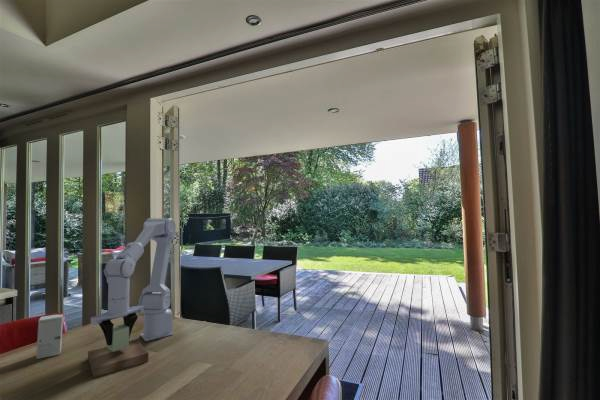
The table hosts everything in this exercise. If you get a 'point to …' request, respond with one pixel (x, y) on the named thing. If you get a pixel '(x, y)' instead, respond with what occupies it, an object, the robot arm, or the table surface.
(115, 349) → the sage block
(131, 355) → the walnut base
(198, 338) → the table surface
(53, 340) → the skincare box
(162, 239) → the robot arm
